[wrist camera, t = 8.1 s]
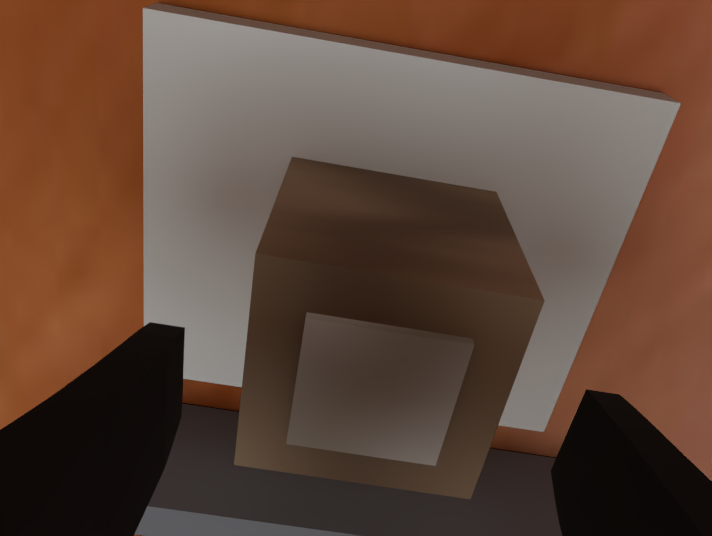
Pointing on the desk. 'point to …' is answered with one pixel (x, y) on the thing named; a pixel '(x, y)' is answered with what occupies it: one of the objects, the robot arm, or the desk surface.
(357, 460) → the brown cube
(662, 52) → the desk surface
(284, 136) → the pad
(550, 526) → the screen
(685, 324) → the desk surface
